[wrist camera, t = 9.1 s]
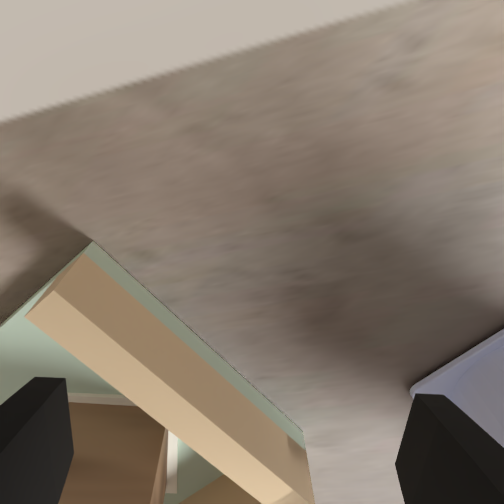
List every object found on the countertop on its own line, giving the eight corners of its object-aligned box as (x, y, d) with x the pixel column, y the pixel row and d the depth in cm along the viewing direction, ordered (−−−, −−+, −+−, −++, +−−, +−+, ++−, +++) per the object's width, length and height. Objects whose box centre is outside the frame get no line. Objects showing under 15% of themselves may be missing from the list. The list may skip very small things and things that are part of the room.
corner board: (302, 431, 23) (315, 508, 19) (59, 587, 27) (30, 674, 23) (92, 240, 18) (53, 290, 14) (-156, 466, 23) (-236, 549, 19)
